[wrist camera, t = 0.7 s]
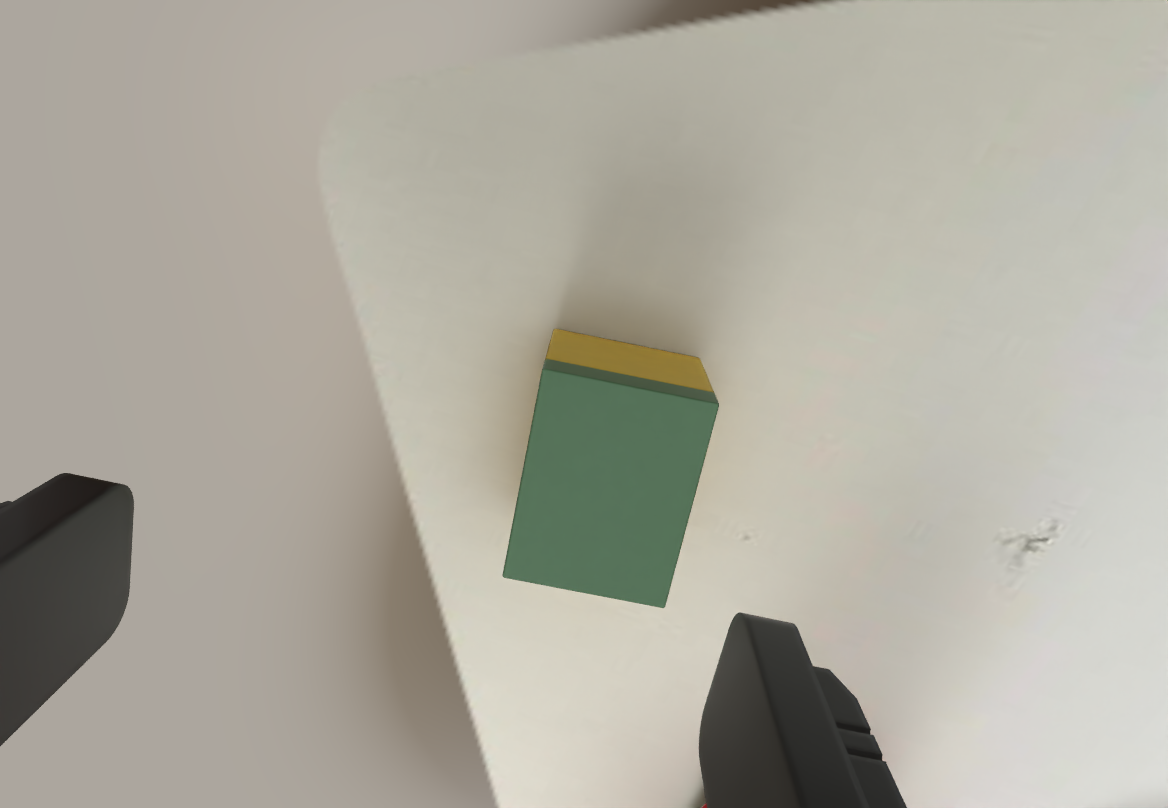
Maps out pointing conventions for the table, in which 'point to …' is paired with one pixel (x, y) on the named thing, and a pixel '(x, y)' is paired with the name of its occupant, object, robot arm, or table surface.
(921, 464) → the table surface
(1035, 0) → the table surface
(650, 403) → the sponge
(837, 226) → the table surface
